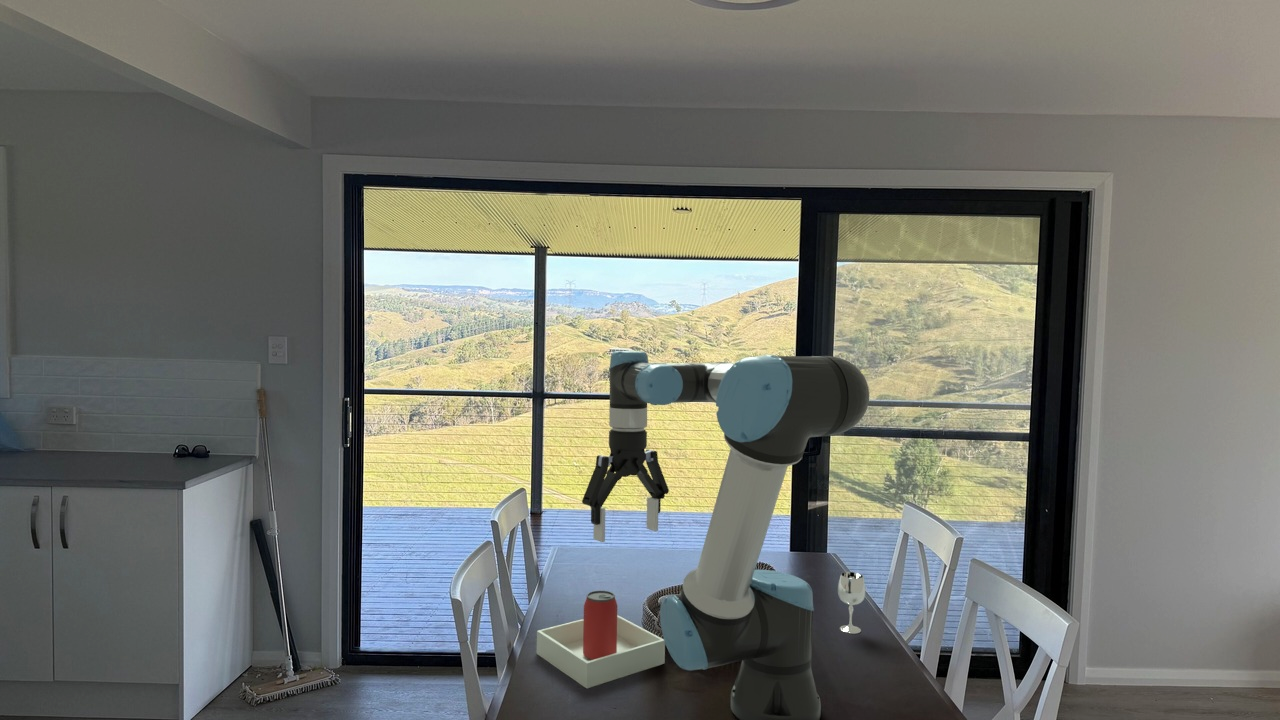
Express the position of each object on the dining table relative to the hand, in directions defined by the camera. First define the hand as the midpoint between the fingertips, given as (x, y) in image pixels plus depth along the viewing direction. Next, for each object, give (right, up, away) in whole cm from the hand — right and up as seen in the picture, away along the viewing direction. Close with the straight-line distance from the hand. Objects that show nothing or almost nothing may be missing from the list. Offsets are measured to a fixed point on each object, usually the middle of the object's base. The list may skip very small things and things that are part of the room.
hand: (626, 535), depth 154 cm
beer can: (-5, -23, -3) cm, 24 cm away
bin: (-5, -24, -3) cm, 24 cm away
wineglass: (+49, -24, +14) cm, 56 cm away
